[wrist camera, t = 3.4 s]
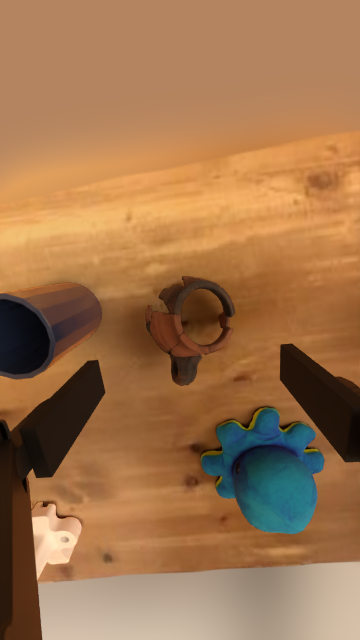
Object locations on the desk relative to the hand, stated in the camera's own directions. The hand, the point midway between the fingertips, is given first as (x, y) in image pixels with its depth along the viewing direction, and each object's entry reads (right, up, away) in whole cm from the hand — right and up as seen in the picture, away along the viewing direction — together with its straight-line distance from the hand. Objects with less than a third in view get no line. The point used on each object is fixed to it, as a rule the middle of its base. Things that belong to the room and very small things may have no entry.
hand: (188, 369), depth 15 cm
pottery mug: (0, +3, +12) cm, 12 cm away
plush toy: (+11, -17, +17) cm, 27 cm away
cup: (-14, +5, +12) cm, 19 cm away
